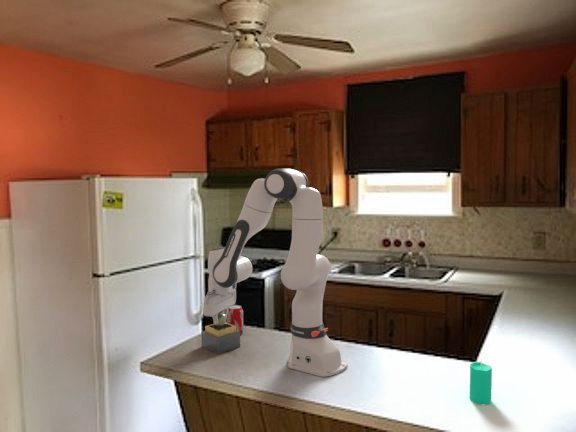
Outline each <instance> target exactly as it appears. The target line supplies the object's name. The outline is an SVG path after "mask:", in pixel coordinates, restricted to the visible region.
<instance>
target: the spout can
mask: <svg viewBox="0 0 576 432" xmlns="http://www.w3.org/2000/svg"><path fill="white" fill-rule="evenodd" d="M217 317H218V319H219V323H218V324H214V323H213V324H214V329H216V330H221V329H225V328H226V323H227V319H226V313H224V311H221V312H219V313H218V316H217Z"/></svg>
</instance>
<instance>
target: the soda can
mask: <svg viewBox="0 0 576 432" xmlns="http://www.w3.org/2000/svg"><path fill="white" fill-rule="evenodd" d="M226 323H229V324H231V325H234V326H236V331H238V332H240V335H241V334H243V332H244V310H243V308H242V305H238V304H234V305H233V306H231V307H229V308H228V313H227V319H226Z"/></svg>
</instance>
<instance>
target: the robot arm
mask: <svg viewBox="0 0 576 432" xmlns="http://www.w3.org/2000/svg"><path fill="white" fill-rule="evenodd" d="M278 200H280V201H283V202H285V203H288V202H289V203H290V205H291V208H292V209H291V210H292V214H291V215H292V216H291V217H292V220H291V221H292V222H291V225H292V226H291V227H292V228H291V241H290V246H289V247H290V248H289V251H288V255H287V259H286V262H285V264H284V265H283V267H282V268H281V271H280V279H281V282H282V284H283V285H284V286H285V287H286V288H287V289H288V290H290V291H292V290H293V291H296V293H295V295H294V297H293V299H292V303H291V322H290V333H291V334H290V335H291V340H290V341H291V342H290V347H289V348H290V350H289V355H288V359H287V361H288V364H287V368H289V369H292V370H295V371H299V372H303V373H307V374H310V375H313V376H317V377H323V378H324V377H331V376H333V375H336V374H340V373H341V372H344V371H345V370H346V369H347V368H348V367H349V365H348V363H347V362H346V361H344V360H342V357H341V356H342V355H341V351H340V348H338V346H337V345H336V344H335V343H334V342H333V341H332V340H331V339H330V338H329V336H328V335H327V332H328V331H329V328H328V327H326V328H325V326H324V322H323V301H324V295H325V290H326V285H327V281H328V277H329V275H330V274H331V270H332V268H331V267H332V265H331V261H330V260H329V259H328V258H327V257H326V256H325V255H323V254H318V252H319V249H320V247H321V244H322V242H323V238H324V237H323V233H324V230H323V229H324V210H323V201H322V195H321V192H320V191H318V190H317V189H315V188H314V187H309V179H308V177H307V175H306V174H305V173H304V172H303V171H301V170H298V169H292V168H289V167H288V168H287V167H286V168H275V169H272V170H270V171H269V172H268V173H267V174H266V176H265V178H257V179H255V180H254V181H253V183H252V184H251V186H250V188H249V190H248V193H247V195H246V197H245V200H244V202H243V206H242V209H241V211H240V214H239V216H238V218H237V220H236V223H235V224H234V227H232V230H231V231H230V232H231V233H230V234H229V237H228V240H227V242H226V245H225V246H221V247H220V246H219V247H216V248H212V249H211V250H210V251H209V252H208V259H207V271H208V279H207V280H208V281H207V282H208V283H207V284H208V286H207V287H208V291H207V293H206V295H205V296H204V299H203V307H202V308H203V309H202V315H204V317H211V318H212V320H213V324H218V323H219V319H218V317H217V316H218V313H219V312H221V311H224V313H226V320H227V313H228V308H229V307H231V306H233V305H236V301H237V283H240V282H243V281H245V280H247V279H249V278H250V277H251V276H252V274H253V270H254V269H253V268H254V266H253V263H252V262H251V260H250V259H249V258H248V257H246V256H243V255H242V252H243V249H244V247H245V245H246V244H247V242H248V241H249V240H250V239H251V238H252V237H253V236H254V235H256V234H258V233H259V232H261V231H262V230H263V229H265V228H266V226H267V225H268V223H269V222H270V220H271V216H272V214H273V210H274V207H275V204H276V202H277V201H278Z"/></svg>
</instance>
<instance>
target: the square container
mask: <svg viewBox="0 0 576 432" xmlns="http://www.w3.org/2000/svg"><path fill="white" fill-rule="evenodd" d="M201 347H202V348H204V349H205V350H208V351H210V352H212V353H215V354H217V355H219V354H221V353H225V352H228V351H230V350H231V351H232V350H235V349H237V348H240V347H241V334H240V332H238V331H236V326H234V325H231V324H229V323H227V322H226V328H225V329H221V330H216V329H214V323H213V324H208V325H205V326H204V331H201Z"/></svg>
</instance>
